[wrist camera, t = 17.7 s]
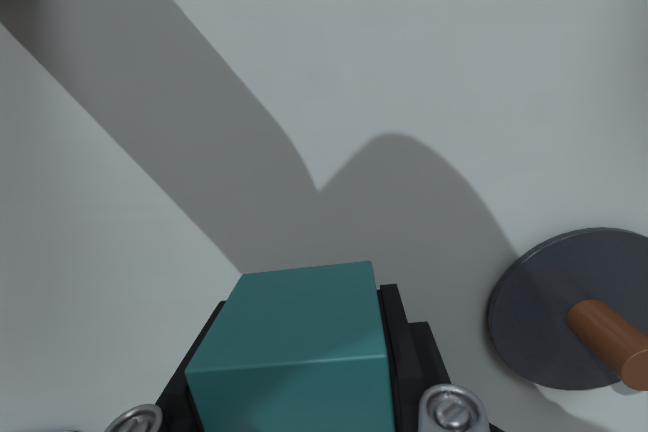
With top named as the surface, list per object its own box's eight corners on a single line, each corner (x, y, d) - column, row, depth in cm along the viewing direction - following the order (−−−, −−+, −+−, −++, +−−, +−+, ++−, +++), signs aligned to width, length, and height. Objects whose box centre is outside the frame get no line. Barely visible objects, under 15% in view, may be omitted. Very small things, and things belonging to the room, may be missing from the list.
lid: (484, 235, 23) (530, 278, 17) (688, 213, 21) (816, 252, 16) (485, 382, 26) (523, 460, 21) (660, 372, 25) (755, 453, 19)
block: (241, 273, 11) (182, 371, 7) (371, 259, 11) (387, 355, 7) (267, 376, 13) (229, 509, 8) (383, 367, 12) (403, 503, 8)
